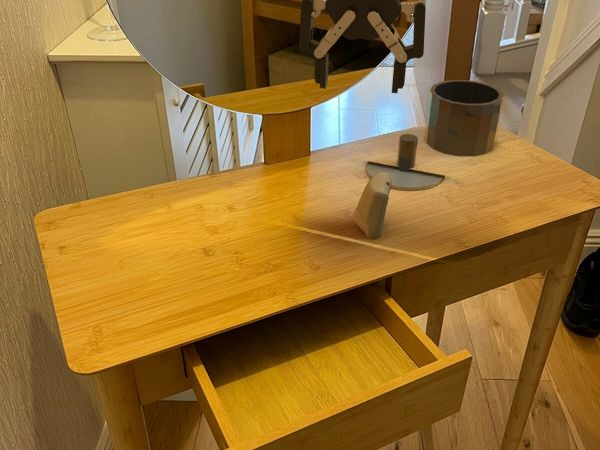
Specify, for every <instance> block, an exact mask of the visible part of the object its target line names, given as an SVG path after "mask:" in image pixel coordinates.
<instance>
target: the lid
mask: <svg viewBox="0 0 600 450" xmlns="http://www.w3.org/2000/svg"><path fill="white" fill-rule="evenodd" d="M418 141H419V138H418V136H416V135H415V134H412V133H403V134H401V135H399V137H398V148H397V160H396V166H395V165H390V164H385V163H380V162H374V161H369V160H368V161H367V162H366V164H365V173H366V175H367V176H368V178H369V179H371V178H372V177H373V176H374V175H376V174H377V173H380V172H385V173H388V174H389V175H390V177H391V180H392V182H391V187H390V189H393V190H398V191H408V192H409V191H423V190H428V189H432V188H434V187H436V186H438V185H440V184H441V183H442V182H443V181H444V180H445V178H446V175H445V174H439V173H433V172H429V171H423V170H417V169H413V168H415V167H416V159H417V151H418V143H419V142H418Z"/></svg>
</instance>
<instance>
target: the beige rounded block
mask: <svg viewBox="0 0 600 450" xmlns="http://www.w3.org/2000/svg"><path fill="white" fill-rule="evenodd" d="M391 182H392V180H391V177H390V175H389V174H388V173H385V172H380V173H377V174H376V175H374V176H373V177H372V178H369V180H368V182H367V184H366V185H365V187H364V189H363V191H362V193H361V195H360V198H359V200H358V203H357V206H356V208H355V210H354V212H353V219H354V221H355V222H354V223H355V224H356V225H357V226H358V228H359V229H360V230H361V231H362V232H363V233H364V235H365V236H366V238H367V239H371V240H378V239H379V238H380V237H381V234H382V231H383V226H384V221H385V216H386V211H387V207H388V203H389V198H390V191H391V188H390V187H391Z"/></svg>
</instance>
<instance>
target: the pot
mask: <svg viewBox="0 0 600 450" xmlns="http://www.w3.org/2000/svg"><path fill="white" fill-rule="evenodd" d="M428 94H429V95H428V104H427V110H426V111H427V112H426V121H425V128H424V136H423V137H424V141H425V144H426V145H427V146H428V147H430V148H431V149H432V150H434V151H437V152H438V153H441V154H445V155H448V156H449V155H450V156H454V157H477V156H482V155H486V154H488V153H490V152H492V151H493V150H494V148H495V145H496V139H497V134H498V129H499V123H500V118H501V112H502V107H503V101H504V93H503V91H502V90H501V89H500V88H498V87H496V86H494V85H492V84H489V83H485V82H481V81H476V80H470V79H469V80H468V79H450V80H443V81H439V82H437V83H434V84H432V86H430V89H429V93H428Z"/></svg>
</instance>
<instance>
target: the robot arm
mask: <svg viewBox="0 0 600 450" xmlns="http://www.w3.org/2000/svg"><path fill="white" fill-rule="evenodd" d="M300 4H301V5H300V19H299V37H298V49H299V51H300V52H301V53H308V54H311V55H312V57H313V59H314V82H315V84H319V89H323V90H324V89H325V90H326V89H327V87H328V83H329V53H328V51H329V50H330V49H331V48H332V47H333V46H334V45H335V44H336V42H337V41H338V40H339V39H340V37H341V36H343V37H344V38H346V40H349V41H354V40H359V39H362V40H365V41H370V42H374V41H376V40H378V39H381V40H382V42H383V43H384V45H385V47H386V48H387V49H389V51H390V52H391V54H392V55H393V57H394V60H393V61H394V62H393V69H392V70H393V71H392V83H391V94H398V92H399V89H400V90H402V89H403V88H404V87H405V84H406V83H405V81H406V72H407V63H408V62H409V61H410V60H414V59H421V58H422V57H423V56H424V54H425V37H426V35H425V34H426V12H427V11H426V9H427V2H426V0H414V1H402V0H302V1H301V3H300ZM323 10H325V12H326V13H327V15H328V17H329V18H330V20H331V21H332V22H333V25H332V26H331V27H330V28H329V29H328V30H327V33H326V34H325V35H324V36H323V37H322V39H321V40H320V41H318V40H315V39H313V38H314V25H315V24H314V23H315V19H316V18H318V17H319V16H320V14H321V12H322V11H323ZM402 13H403V14H405V16H406V20H407V21H408V22H409V23H412V24H413V39H412V41H413V42H412V44H409V45H405V43H404V41H403V40H402V38H401V36H400V34H399V32H398V30H397V29H396V27H395V26H394V24H393V23H394V22H395V21H396V20H397V19H398V17H399V16H400V15H401V14H402Z"/></svg>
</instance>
